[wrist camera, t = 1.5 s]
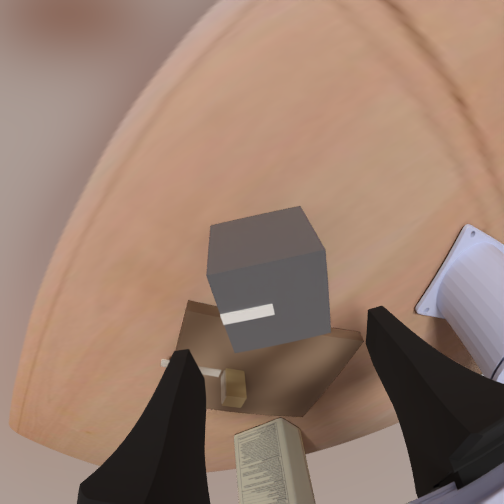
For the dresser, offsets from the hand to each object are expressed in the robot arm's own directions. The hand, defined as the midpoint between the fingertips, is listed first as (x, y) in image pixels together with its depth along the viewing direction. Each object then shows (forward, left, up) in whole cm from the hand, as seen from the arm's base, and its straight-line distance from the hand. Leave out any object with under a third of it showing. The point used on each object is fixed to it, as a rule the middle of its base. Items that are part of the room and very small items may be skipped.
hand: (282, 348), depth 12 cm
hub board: (-3, +10, -7) cm, 13 cm away
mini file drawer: (0, 0, -7) cm, 7 cm away
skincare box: (-8, +21, -8) cm, 24 cm away
